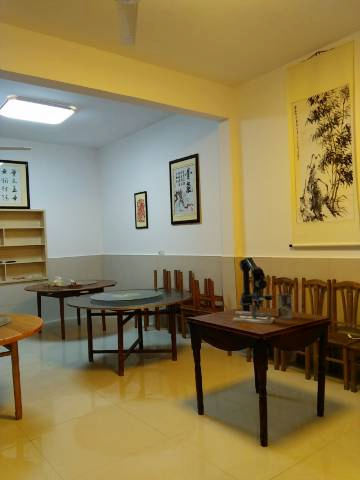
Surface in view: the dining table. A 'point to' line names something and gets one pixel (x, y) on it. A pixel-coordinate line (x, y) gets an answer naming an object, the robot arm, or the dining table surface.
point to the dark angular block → (254, 311)
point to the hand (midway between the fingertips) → (258, 310)
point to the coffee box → (285, 305)
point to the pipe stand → (253, 320)
